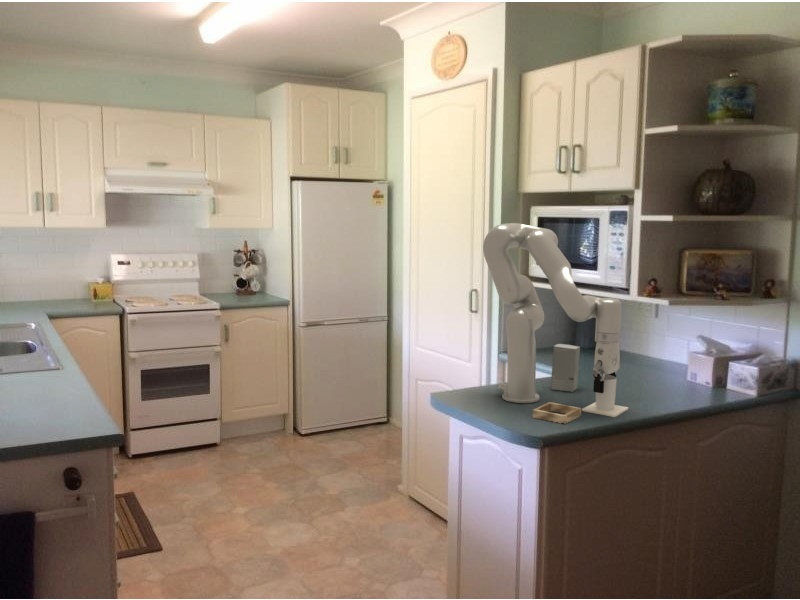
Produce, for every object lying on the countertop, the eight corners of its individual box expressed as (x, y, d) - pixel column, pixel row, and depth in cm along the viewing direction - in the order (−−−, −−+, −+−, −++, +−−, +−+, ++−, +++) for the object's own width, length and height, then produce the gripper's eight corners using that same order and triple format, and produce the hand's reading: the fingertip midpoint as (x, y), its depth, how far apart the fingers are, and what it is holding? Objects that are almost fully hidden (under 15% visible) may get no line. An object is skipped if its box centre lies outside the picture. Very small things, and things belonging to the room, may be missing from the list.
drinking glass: (612, 404, 235) (613, 374, 234) (618, 410, 229) (619, 379, 227) (591, 404, 235) (592, 374, 234) (597, 410, 229) (598, 379, 227)
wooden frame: (532, 417, 224) (532, 409, 223) (549, 409, 232) (549, 402, 232) (565, 424, 217) (565, 416, 216) (580, 415, 225) (581, 408, 225)
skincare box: (550, 389, 256) (551, 346, 254) (556, 385, 262) (557, 342, 260) (574, 392, 252) (575, 348, 250) (579, 387, 258) (580, 344, 256)
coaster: (581, 410, 230) (581, 409, 230) (596, 403, 239) (596, 401, 239) (614, 417, 224) (614, 415, 223) (628, 409, 232) (628, 407, 232)
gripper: (607, 342, 219) (604, 397, 221) (629, 334, 232) (626, 385, 235) (584, 339, 224) (582, 392, 226) (607, 331, 237) (604, 382, 239)
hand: (604, 389), depth 230 cm, fingers open, 9 cm apart
